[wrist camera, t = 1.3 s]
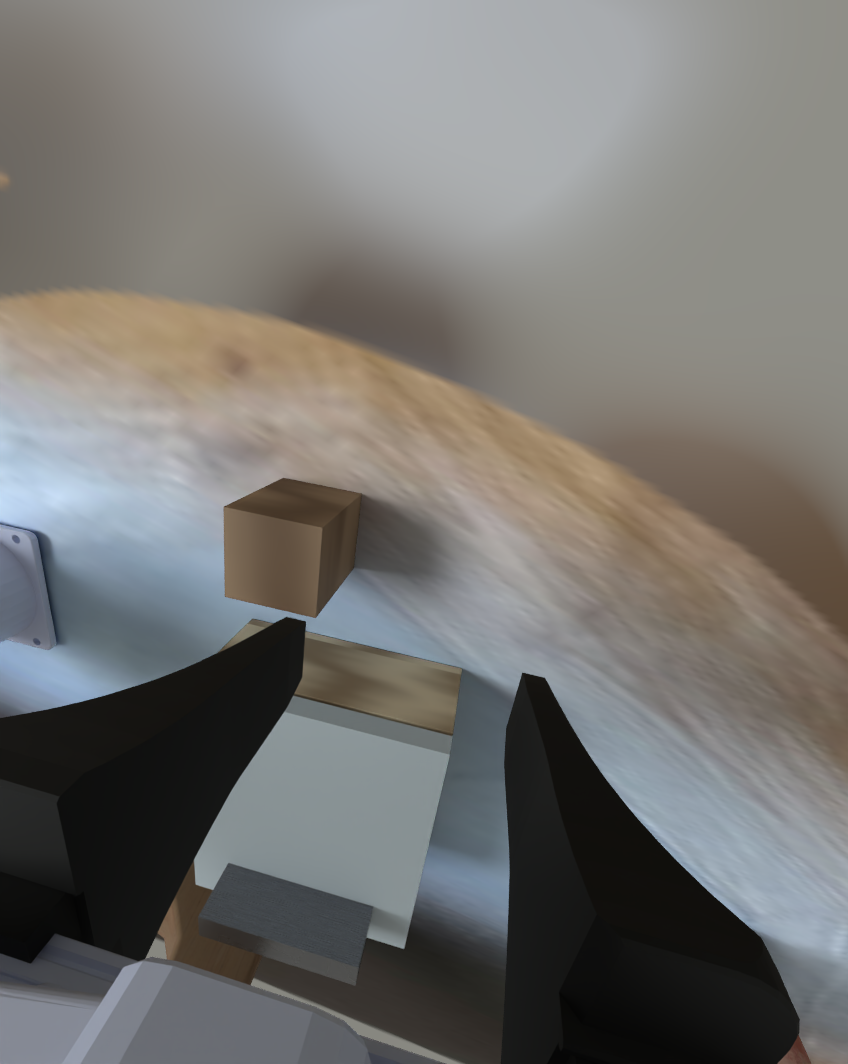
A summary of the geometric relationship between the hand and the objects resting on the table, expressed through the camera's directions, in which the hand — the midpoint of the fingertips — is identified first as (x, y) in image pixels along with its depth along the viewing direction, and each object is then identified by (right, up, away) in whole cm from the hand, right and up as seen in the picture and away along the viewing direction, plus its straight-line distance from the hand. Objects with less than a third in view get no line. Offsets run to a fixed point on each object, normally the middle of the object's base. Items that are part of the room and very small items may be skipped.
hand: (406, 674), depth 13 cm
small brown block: (-5, +5, +9) cm, 12 cm away
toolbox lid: (-5, -10, +10) cm, 15 cm away
